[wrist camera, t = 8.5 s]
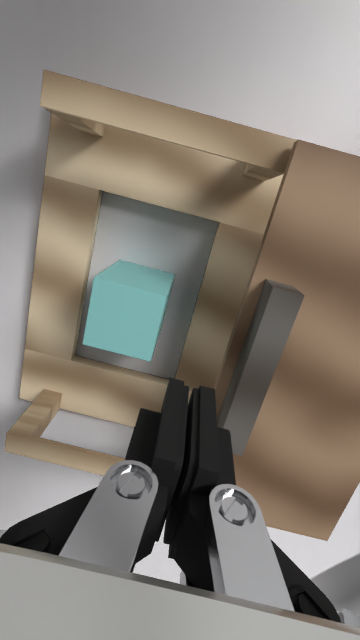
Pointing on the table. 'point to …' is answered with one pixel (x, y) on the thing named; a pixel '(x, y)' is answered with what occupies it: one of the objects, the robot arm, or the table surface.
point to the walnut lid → (300, 350)
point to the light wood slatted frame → (79, 233)
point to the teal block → (127, 309)
